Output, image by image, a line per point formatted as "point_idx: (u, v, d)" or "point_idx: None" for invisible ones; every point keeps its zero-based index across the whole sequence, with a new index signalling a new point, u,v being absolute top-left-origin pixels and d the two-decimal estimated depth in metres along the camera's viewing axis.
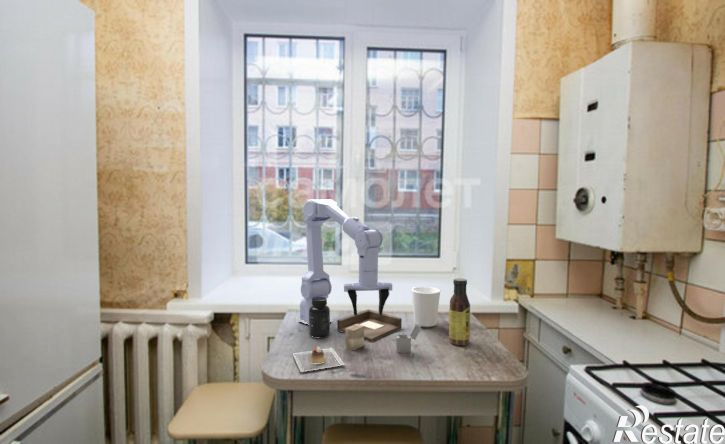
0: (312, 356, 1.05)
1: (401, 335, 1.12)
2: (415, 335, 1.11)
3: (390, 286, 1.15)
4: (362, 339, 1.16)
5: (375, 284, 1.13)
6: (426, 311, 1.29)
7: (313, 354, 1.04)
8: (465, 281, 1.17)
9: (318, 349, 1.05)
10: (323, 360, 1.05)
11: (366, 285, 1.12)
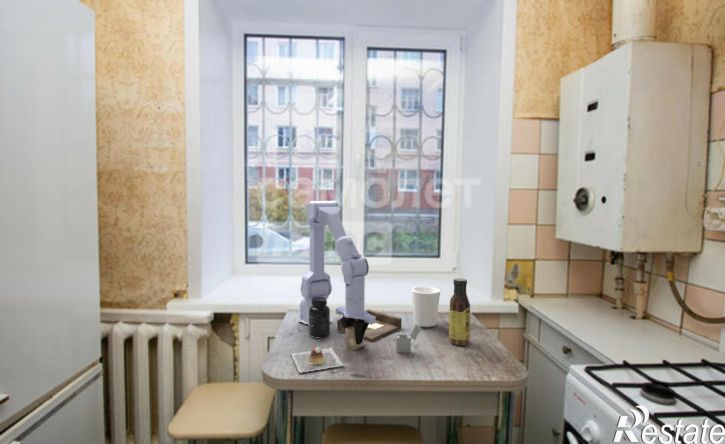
0: (311, 356, 1.04)
1: (401, 335, 1.12)
2: (415, 335, 1.11)
3: (369, 319, 1.10)
4: None
5: (354, 313, 1.12)
6: (426, 311, 1.29)
7: (312, 354, 1.04)
8: (465, 281, 1.17)
9: (317, 349, 1.04)
10: (322, 360, 1.04)
11: (346, 312, 1.13)
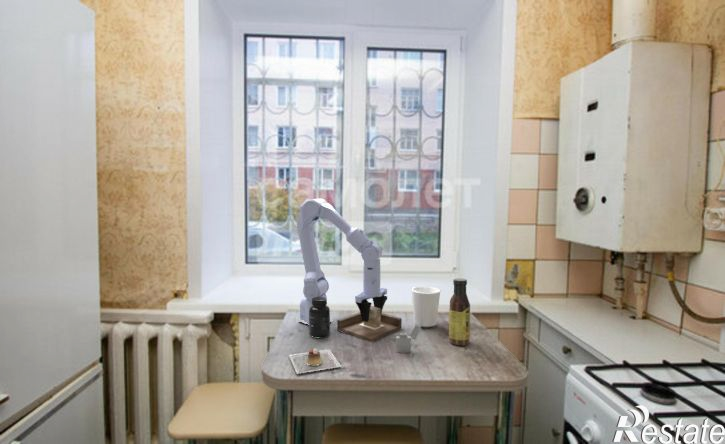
0: (308, 357, 1.04)
1: (401, 335, 1.12)
2: (415, 335, 1.11)
3: (386, 290, 1.34)
4: None
5: (380, 291, 1.30)
6: (426, 311, 1.29)
7: (309, 355, 1.03)
8: (465, 281, 1.17)
9: (314, 350, 1.04)
10: (319, 362, 1.04)
11: (376, 293, 1.27)
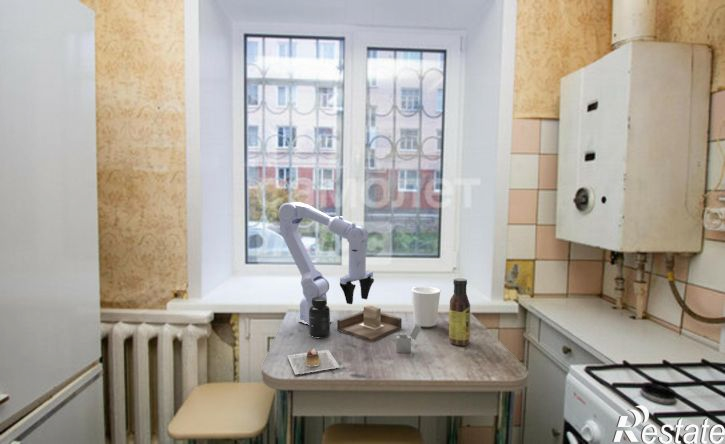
0: (307, 358, 1.03)
1: (401, 335, 1.12)
2: (415, 335, 1.11)
3: (372, 273, 1.34)
4: None
5: (365, 273, 1.30)
6: (426, 311, 1.29)
7: (308, 356, 1.03)
8: (465, 281, 1.17)
9: (313, 351, 1.03)
10: (318, 362, 1.03)
11: (361, 275, 1.27)
